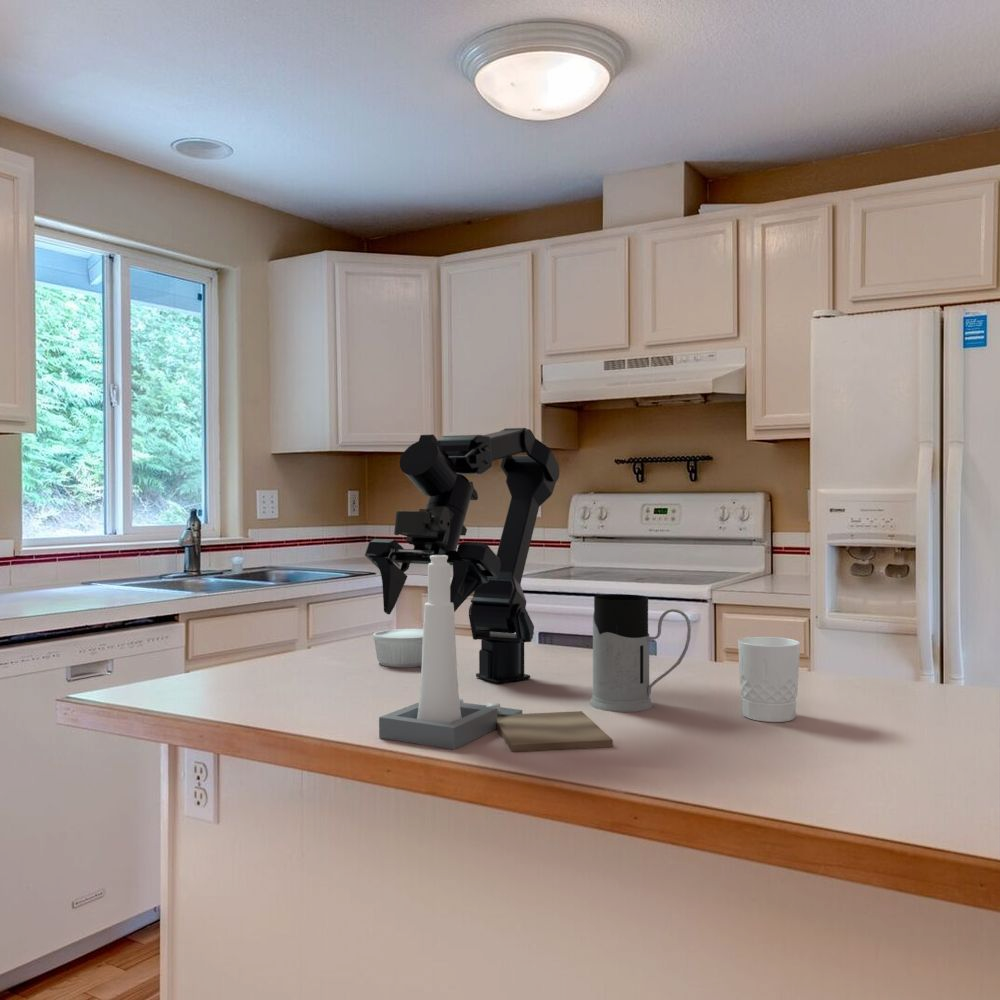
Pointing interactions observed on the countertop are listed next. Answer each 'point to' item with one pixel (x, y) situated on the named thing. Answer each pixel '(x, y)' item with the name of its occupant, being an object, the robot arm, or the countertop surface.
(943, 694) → the countertop surface
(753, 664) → the white cup
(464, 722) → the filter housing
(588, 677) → the countertop surface
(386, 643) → the ramekin
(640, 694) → the glass holder
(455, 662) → the cosmetic bottle
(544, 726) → the walnut pad
